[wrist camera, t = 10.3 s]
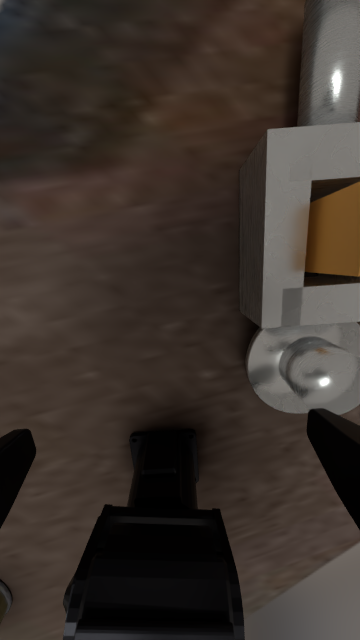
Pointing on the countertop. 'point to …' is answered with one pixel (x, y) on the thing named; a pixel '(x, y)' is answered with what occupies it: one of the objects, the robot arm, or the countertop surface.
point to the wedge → (335, 233)
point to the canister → (4, 600)
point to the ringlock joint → (304, 228)
